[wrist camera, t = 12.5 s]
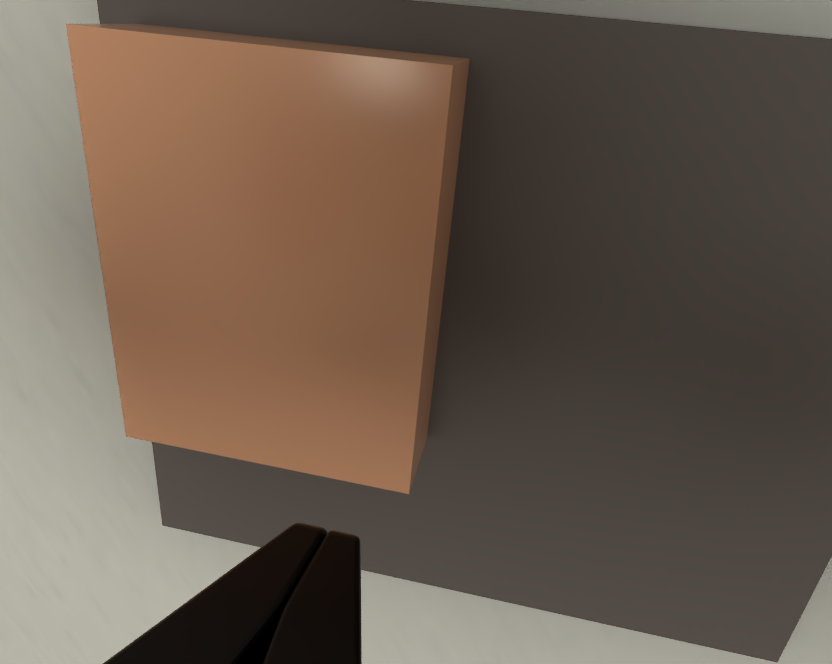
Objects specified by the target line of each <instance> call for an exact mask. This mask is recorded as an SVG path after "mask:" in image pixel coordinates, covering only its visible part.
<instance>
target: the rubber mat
mask: <svg viewBox="0 0 832 664" xmlns="http://www.w3.org/2000/svg"><path fill="white" fill-rule="evenodd" d="M97 3H98V11H99V19H100V24H146V25H155V26H165V27H174V28H184V29H193V30H203V31H212V32H222V33H231V34H241V35H250V36H260V37H269V38H279V39H288V40H298V41H307V42H317V43H327V44H336V45H346V46H355V47H365V48H374V49H384V50H393V51H403V52H412V53H422V54H431V55H441V56H450V57H460V58H469V59H470V61H469V70H468V79H467V87H466V96H465V105H464V114H463V123H462V132H461V141H460V149H459V158H458V167H457V176H456V185H455V194H454V203H453V211H452V220H451V229H450V238H449V247H448V256H447V265H446V273H445V282H444V291H443V300H442V309H441V318H440V327H439V335H438V344H437V353H436V362H435V371H434V380H433V389H432V397H431V406H430V415H429V424H428V433H427V439H426V443H425V446H424V449H423V452H422V455H421V458H420V461H419V464H418V468H417V471H416V474H415V477H414V480H413V483H412V486H411V489H410V493H409V494H406V493H401V492H396V491H391V490H386V489H381V488H377V487H372V486H367V485H362V484H357V483H352V482H347V481H342V480H337V479H333V478H328V477H323V476H318V475H313V474H308V473H303V472H298V471H293V470H288V469H284V468H279V467H274V466H269V465H264V464H259V463H254V462H249V461H244V460H239V459H235V458H230V457H225V456H220V455H215V454H210V453H205V452H200V451H195V450H191V449H186V448H181V447H176V446H171V445H166V444H161V443H156V442H152V445H153V453H154V461H155V469H156V477H157V485H158V493H159V501H160V509H161V517H162V525H163V526H168V527H172V528H177V529H181V530H186V531H190V532H195V533H199V534H204V535H208V536H213V537H217V538H222V539H226V540H231V541H235V542H240V543H244V544H249V545H253V546H258V547H262V546H264V545H265V544H266V543H268V542H269V541H271V540H272V539H273V538H275V537H276V536H277V535H279V534H280V533H281V532H283V531H284V530H286V529H287V528H288V527H290V526H291V525H293V524H295V523H298V522H301V523H306V524H310V525H314V526H319V527H323V528H324V529H326V530H327V532H329V531H331V530H336V531H340V532H344V533H349V534H353V535H356V536H358V537H359V538H360V556H361V570H365V571H370V572H374V573H379V574H383V575H388V576H392V577H397V578H401V579H406V580H410V581H415V582H419V583H424V584H428V585H433V586H437V587H442V588H446V589H451V590H455V591H460V592H464V593H468V594H473V595H477V596H482V597H486V598H491V599H495V600H500V601H504V602H509V603H513V604H518V605H522V606H527V607H531V608H536V609H540V610H545V611H549V612H554V613H558V614H563V615H567V616H572V617H576V618H581V619H585V620H590V621H594V622H599V623H603V624H608V625H612V626H617V627H621V628H625V629H630V630H634V631H639V632H643V633H648V634H652V635H657V636H661V637H666V638H670V639H675V640H679V641H684V642H688V643H693V644H697V645H702V646H706V647H711V648H715V649H720V650H724V651H729V652H733V653H738V654H742V655H747V656H751V657H756V658H760V659H765V660H769V661H774V662H778V660H779V658H780V656H781V654H782V652H783V650H784V648H785V646H786V644H787V642H788V640H789V638H790V636H791V634H792V632H793V631H794V629H795V627H796V625H797V623H798V621H799V619H800V617H801V615H802V613H803V611H804V609H805V607H806V605H807V603H808V601H809V599H810V597H811V595H812V593H813V591H814V589H815V588H816V586H817V584H818V582H819V580H820V578H821V576H822V574H823V572H824V570H825V568H826V566H827V564H828V562H829V560H830V558H831V556H832V39H823V38H812V37H801V36H790V35H780V34H769V33H758V32H747V31H736V30H725V29H715V28H704V27H693V26H682V25H671V24H661V23H650V22H639V21H628V20H617V19H606V18H596V17H585V16H574V15H563V14H552V13H541V12H531V11H520V10H509V9H498V8H487V7H476V6H466V5H455V4H444V3H433V2H422V1H412V0H97Z"/></svg>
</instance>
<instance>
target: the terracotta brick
mask: <svg viewBox="0 0 832 664" xmlns="http://www.w3.org/2000/svg"><path fill="white" fill-rule="evenodd" d="M66 27H67V34H68V40H69V47H70V54H71V61H72V68H73V75H74V82H75V89H76V95H77V102H78V109H79V116H80V123H81V130H82V137H83V144H84V150H85V157H86V164H87V171H88V178H89V185H90V192H91V198H92V205H93V212H94V219H95V226H96V233H97V240H98V247H99V253H100V260H101V267H102V274H103V281H104V288H105V295H106V302H107V308H108V315H109V322H110V329H111V336H112V343H113V350H114V357H115V363H116V370H117V377H118V384H119V391H120V398H121V405H122V412H123V418H124V425H125V432H126V436H127V437H132V438H137V439H142V440H146V441H151V442H156V443H161V444H166V445H171V446H176V447H181V448H186V449H191V450H195V451H200V452H205V453H210V454H215V455H220V456H225V457H230V458H235V459H239V460H244V461H249V462H254V463H259V464H264V465H269V466H274V467H279V468H284V469H288V470H293V471H298V472H303V473H308V474H313V475H318V476H323V477H328V478H333V479H337V480H342V481H347V482H352V483H357V484H362V485H367V486H372V487H377V488H381V489H386V490H391V491H396V492H401V493H406V494H409V493H410V489H411V486H412V483H413V480H414V477H415V474H416V471H417V468H418V464H419V461H420V458H421V455H422V452H423V449H424V446H425V443H426V439H427V433H428V424H429V415H430V406H431V397H432V389H433V380H434V371H435V362H436V353H437V344H438V335H439V327H440V318H441V309H442V300H443V291H444V282H445V273H446V265H447V256H448V247H449V238H450V229H451V220H452V211H453V203H454V194H455V185H456V176H457V167H458V158H459V149H460V141H461V132H462V123H463V114H464V105H465V96H466V87H467V79H468V70H469V61H470V59H469V58H460V57H450V56H441V55H431V54H422V53H412V52H403V51H393V50H384V49H374V48H365V47H355V46H346V45H336V44H327V43H317V42H307V41H298V40H288V39H279V38H269V37H260V36H250V35H241V34H231V33H222V32H212V31H203V30H193V29H184V28H174V27H165V26H155V25H146V24H66Z"/></svg>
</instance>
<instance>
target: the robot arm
mask: <svg viewBox="0 0 832 664" xmlns="http://www.w3.org/2000/svg"><path fill="white" fill-rule="evenodd" d="M103 664H362V662H361V556H360V538H359V537H358V536H356V535H353V534H349V533H344V532H340V531H336V530H331V531H329V532H327V530H326V529H324V528H323V527H319V526H314V525H310V524H306V523H301V522H298V523H295V524H293V525H291V526H290V527H288V528H287V529H286V530H284V531H283V532H281V533H280V534H279V535H277V536H276V537H275V538H273V539H272V540H271V541H269V542H268V543H266V544H265V545H264V546H262V547H261V548H260V549H258V550H257V551H256V552H254V553H253V554H252V555H250V556H249V557H247V558H246V559H245V560H243V561H242V562H241V563H239V564H238V565H237V566H235V567H234V568H232V569H231V570H230V571H228V572H227V573H226V574H224V575H223V576H222V577H220V578H219V579H218V580H216V581H215V582H213V583H212V584H211V585H209V586H208V587H207V588H205V589H204V590H203V591H201V592H200V593H198V594H197V595H196V596H194V597H193V598H192V599H190V600H189V601H188V602H186V603H185V604H183V605H182V606H181V607H179V608H178V609H177V610H175V611H174V612H173V613H171V614H170V615H169V616H167V617H166V618H164V619H163V620H162V621H160V622H159V623H158V624H156V625H155V626H154V627H152V628H151V629H149V630H148V631H147V632H145V633H144V634H143V635H141V636H140V637H139V638H137V639H136V640H134V641H133V642H132V643H130V644H129V645H128V646H126V647H125V648H124V649H122V650H121V651H120V652H118V653H117V654H115V655H114V656H113V657H111V658H110V659H109V660H107V661H106V662H105V663H103Z"/></svg>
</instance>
